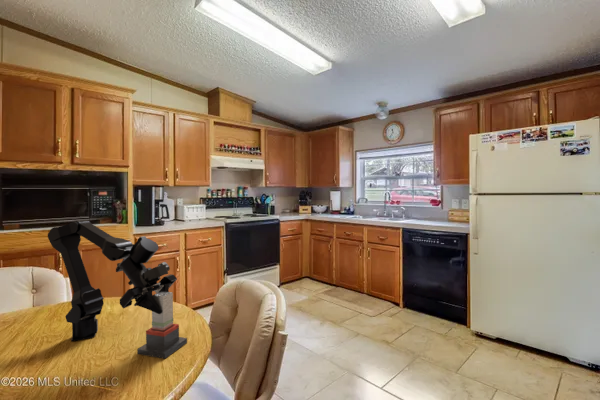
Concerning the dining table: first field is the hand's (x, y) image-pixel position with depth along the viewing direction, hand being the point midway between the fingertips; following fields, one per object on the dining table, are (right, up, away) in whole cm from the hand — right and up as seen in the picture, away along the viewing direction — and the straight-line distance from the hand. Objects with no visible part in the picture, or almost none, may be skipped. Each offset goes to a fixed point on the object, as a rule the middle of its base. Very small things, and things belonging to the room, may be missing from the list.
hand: (166, 310), depth 93 cm
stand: (-1, -12, 0) cm, 12 cm away
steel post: (-1, -7, 0) cm, 7 cm away
